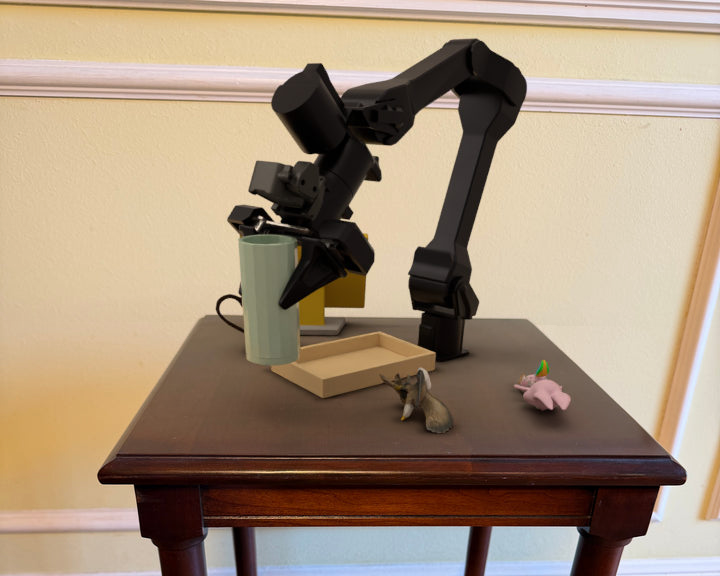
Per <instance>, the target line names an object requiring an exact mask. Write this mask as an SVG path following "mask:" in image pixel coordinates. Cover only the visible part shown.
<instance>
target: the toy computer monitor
mask: <svg viewBox="0 0 720 576" xmlns="http://www.w3.org/2000/svg"><path fill="white" fill-rule="evenodd" d="M362 233H363V232H362ZM363 234H364V236H365V237H366V239H367V240H368V241H369V234H368V233H363ZM239 238H241V236H240V235H239ZM297 250H298V263H299V261H300V258H301V247H300V246H297ZM345 270H346V268H345ZM346 272H347V273H348V271H347V270H346ZM366 286H367V275H366V276H362V275H358V274H353V273H348V275H347V276H346V277H345V278H338V279H337V280H335V281H333V282H331V283H329V284H327V285H326V286H324V287H322V288H320V289H318V290H317V291H315V292H313V293H312V294H310V295H309V296H307V297H305V298H304V299H302V300H301V301H299V323H300V336H338V335H339V334H340V332H341V331H342V329H343V328H344V326H345V324H346V323H347V322H346V321H347V319H346V317H343V316H341V317H340V316H339V317H338V316H325V315H326V314H325V313H326V312H325V311H326V310H325V309H326V308H327V309H364V308H365V306H366V288H367V287H366Z"/></svg>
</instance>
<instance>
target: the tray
mask: <svg viewBox="0 0 720 576" xmlns="http://www.w3.org/2000/svg"><path fill="white" fill-rule="evenodd" d="M435 358H436V353H435V352H433V351H430V350H427V349H425V348H422V347H419V346H418V344H414V343H412V342H409V341H406V340H404V339H401V338H398V337H395V336H393V335H390V334H388V333H385V332H383V331H375V332H370V333H363V334H358V335H354V336H350V337H349V336H348V337H344V338H338V339H336V340H335V339H334V340H329V341H324V342H318V343H315V344H309V345H303V346H300V358H299V359H298V360H296V361H295V362H292V363H289V364H284V365H273V366H271V365H270V370H271V371H270V372H272V373H275V374H277V375H278V376H280V377H282V378H284V379H286V380H287V381H289V382H291V383H293V384H295V385H297V386H298V387H301V388H303V389H304V390H307V391H308V392H310V393H312V394H314V395H316V396H317V397H319V398H321V399H325V398H330V397H333V396H338V395H343V394H345V393H349V392H350V393H351V392H354V391H358V390H362V389H366V388H369V387H374V386H377V385H381V384H385V383H384V382H383V380H382V379H381V377H380V374H383V375H384V376H385V378H387V379H388V380H390V381H392V382H394V378H395V375H396V374H398V373H399V375H400V378H401V379H404V378H407V374H409V375H410V377H413V376H416V374H417V373H418V368H420V367H421V368H423V369H425V370H426V371H427V372H428V373H429V372H431V371H435V369H436V360H435Z"/></svg>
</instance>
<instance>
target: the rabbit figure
mask: <svg viewBox="0 0 720 576" xmlns="http://www.w3.org/2000/svg"><path fill="white" fill-rule="evenodd" d="M549 373H550V367H549V363H548V362H547V361H546V360H545V359H542V360H541V361H540V364H539V366H538V368H537V369H536V371H535V373H534V374H527V375H525V374H523V373H521V376H520V379H519V381H518V383H515V384H514V385H513V389H516V390H520V391H521V392H522V393H523V395H522V398H523V400H524V401H525V402H526V403H528V405H531V406H534V407H535V408H536V409H538V410H541V411H542V412H543V411H545V410H550V411H553V410H554V409H555V408H557V407H558V406H559V408H560V409H561V410H562V411H566V410H567V409H568V407H569V405H570V404H571V399H572V398H571V396H570V395H569V394H568V393H565V392H563V386H562V385H559V384H558V383H557V382H555V381H554V380H551V379H548V378H547V376H548V375H549Z"/></svg>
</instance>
